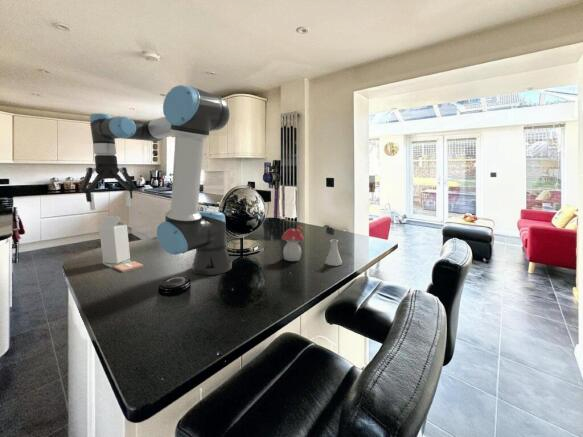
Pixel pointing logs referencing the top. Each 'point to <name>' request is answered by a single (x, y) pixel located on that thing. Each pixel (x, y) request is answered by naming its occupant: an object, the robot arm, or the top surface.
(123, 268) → the pad lying
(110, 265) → the pale green square tile
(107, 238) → the milk carton
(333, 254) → the flask
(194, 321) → the top surface
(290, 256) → the decorative ornament
